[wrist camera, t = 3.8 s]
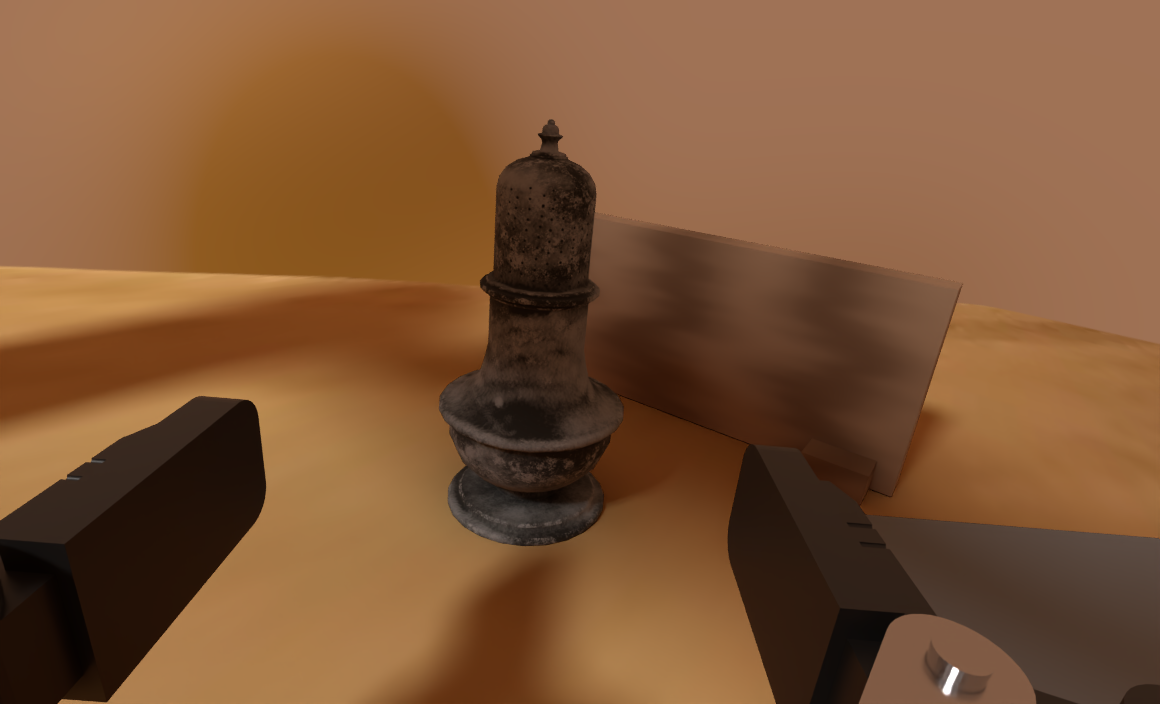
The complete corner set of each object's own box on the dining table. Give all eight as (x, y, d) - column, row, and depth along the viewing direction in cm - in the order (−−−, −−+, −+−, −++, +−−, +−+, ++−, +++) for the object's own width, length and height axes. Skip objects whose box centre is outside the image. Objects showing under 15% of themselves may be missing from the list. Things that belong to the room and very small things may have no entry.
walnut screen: (479, 355, 32) (484, 201, 29) (532, 337, 35) (542, 197, 32) (883, 514, 21) (954, 297, 18) (904, 466, 25) (966, 277, 22)
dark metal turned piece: (556, 438, 24) (583, 122, 20) (647, 519, 20) (706, 134, 16) (413, 471, 21) (409, 105, 17) (482, 576, 17) (499, 114, 12)
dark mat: (1092, 942, 10) (1106, 921, 10) (835, 527, 20) (839, 512, 20) (1715, 981, 10) (1742, 962, 10) (1150, 552, 21) (1158, 538, 20)
